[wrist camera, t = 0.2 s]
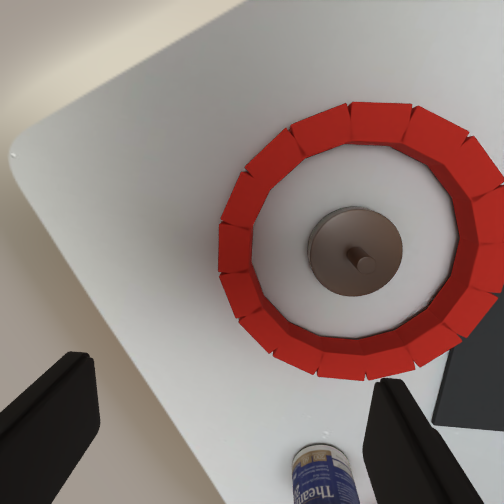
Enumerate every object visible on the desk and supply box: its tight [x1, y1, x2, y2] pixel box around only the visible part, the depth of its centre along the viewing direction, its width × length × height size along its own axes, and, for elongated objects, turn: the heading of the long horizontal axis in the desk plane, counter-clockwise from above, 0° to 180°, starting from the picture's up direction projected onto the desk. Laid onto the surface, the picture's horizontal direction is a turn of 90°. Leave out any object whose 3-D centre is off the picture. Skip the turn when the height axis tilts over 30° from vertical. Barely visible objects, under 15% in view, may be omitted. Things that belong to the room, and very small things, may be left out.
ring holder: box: [308, 207, 403, 296], centre depth 21 cm, size 6×6×4 cm
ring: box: [218, 102, 504, 381], centre depth 21 cm, size 19×19×2 cm
